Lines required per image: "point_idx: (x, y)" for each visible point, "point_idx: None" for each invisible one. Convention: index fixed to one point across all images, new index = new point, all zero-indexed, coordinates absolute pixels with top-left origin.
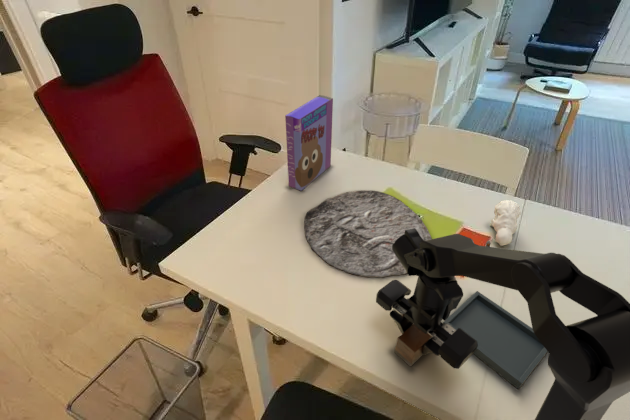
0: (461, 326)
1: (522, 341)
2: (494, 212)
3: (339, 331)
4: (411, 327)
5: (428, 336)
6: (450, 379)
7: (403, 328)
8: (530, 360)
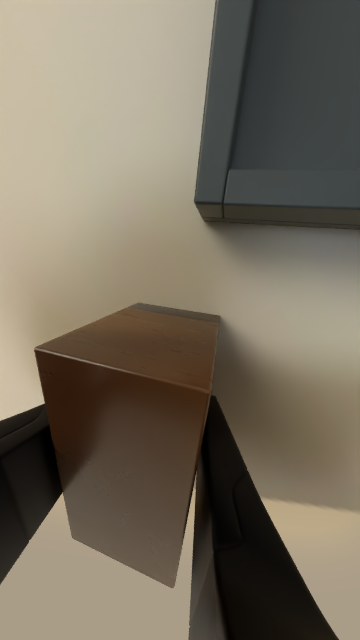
0: (315, 90)
1: None
2: None
3: None
4: (64, 476)
5: (172, 498)
6: (346, 427)
7: (40, 518)
8: None
